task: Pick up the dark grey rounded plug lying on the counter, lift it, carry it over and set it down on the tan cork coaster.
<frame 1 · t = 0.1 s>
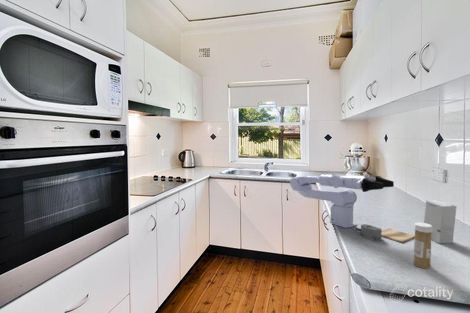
hand: (388, 185, 102), 22 cm above the table, tool horizontal, fingers open, 7 cm apart
cork coaster: (395, 235, 106), on the table
skincare box: (437, 240, 102), on the table
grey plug: (370, 236, 106), on the table
sprinkles bottle: (421, 266, 82), on the table
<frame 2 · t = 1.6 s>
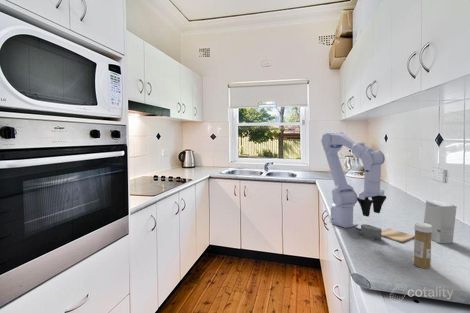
hand: (371, 214, 105), 9 cm above the table, tool pointing down, fingers open, 7 cm apart
nothing on the table moved.
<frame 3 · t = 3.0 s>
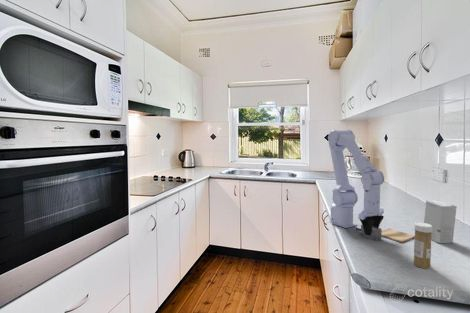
hand: (370, 233, 105), 1 cm above the table, tool pointing down, fingers closed on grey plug, 4 cm apart
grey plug: (370, 236, 106), on the table, touching gripper
everything else where it was.
when the fingers open (3 cm above the table, at t = 6.0 s): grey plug stays where it is, resting on cork coaster.
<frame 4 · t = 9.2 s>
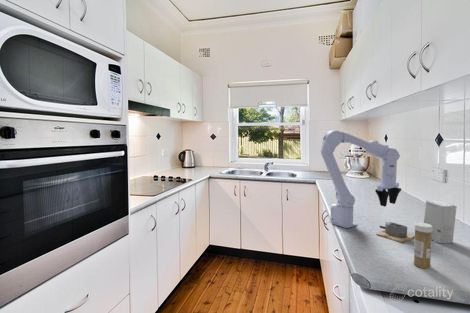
hand: (387, 204, 117), 10 cm above the table, tool pointing down, fingers open, 7 cm apart
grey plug: (395, 234, 106), point 1 cm above the table, touching cork coaster
everything else where it was.
at the end: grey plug inside the target area on the cork coaster (0.2 cm from its centre), point 0.6 cm above the cork coaster's base; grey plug tilted 0°; the gripper is holding nothing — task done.
